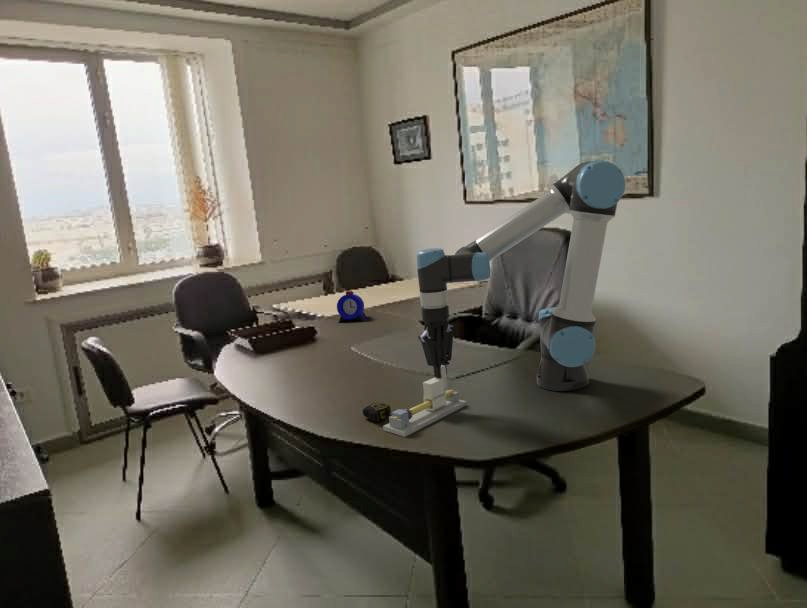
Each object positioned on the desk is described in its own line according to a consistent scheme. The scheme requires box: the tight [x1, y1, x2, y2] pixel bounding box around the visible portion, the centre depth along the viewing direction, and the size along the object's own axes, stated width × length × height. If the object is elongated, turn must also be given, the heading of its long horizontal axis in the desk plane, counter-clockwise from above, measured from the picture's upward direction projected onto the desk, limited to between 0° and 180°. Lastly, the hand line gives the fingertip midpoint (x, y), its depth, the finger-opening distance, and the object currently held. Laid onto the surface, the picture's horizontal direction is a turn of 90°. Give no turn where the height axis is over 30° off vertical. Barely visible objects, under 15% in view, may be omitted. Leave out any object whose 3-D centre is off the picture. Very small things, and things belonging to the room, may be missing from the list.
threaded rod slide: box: [382, 389, 467, 438], centre depth 167 cm, size 25×8×5 cm, turn 135°
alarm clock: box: [336, 290, 367, 324], centre depth 299 cm, size 12×12×15 cm
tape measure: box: [362, 401, 392, 423], centre depth 170 cm, size 7×7×4 cm
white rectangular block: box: [422, 376, 447, 412], centre depth 169 cm, size 5×4×8 cm
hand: (441, 387), depth 172 cm, fingers closed
